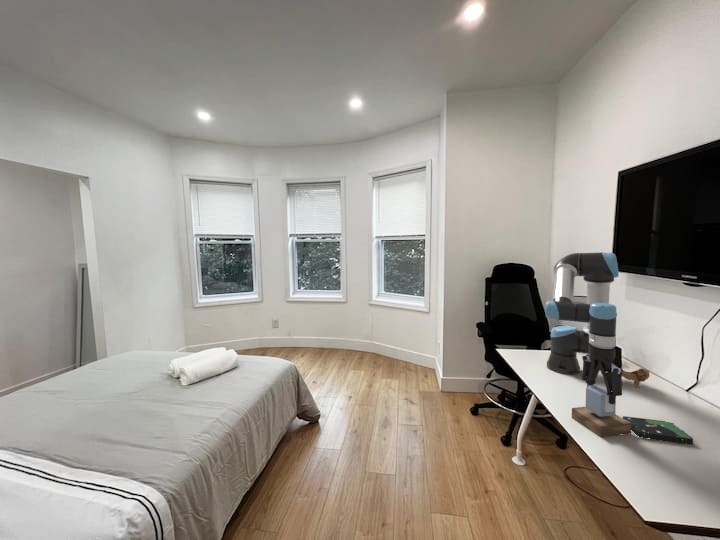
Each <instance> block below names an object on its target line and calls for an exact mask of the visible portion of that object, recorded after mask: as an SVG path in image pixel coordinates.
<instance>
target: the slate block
mask: <svg viewBox="0 0 720 540" xmlns="http://www.w3.org/2000/svg"><path fill="white" fill-rule="evenodd" d="M596 386H597V385H596ZM606 393H607V389H606V387H605V388H604V387H603V386H600V385H598V386H597V387H587V386H586V388H585V407H586V408H587V409H588V410H590V411H592V412H593V413H595V414H597V415H598V416H600V417H602V416H612V415H615V414H616V407H617V405H616V404H617V403H616V401H615V404H614V411H613V412H605V394H606Z"/></svg>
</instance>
